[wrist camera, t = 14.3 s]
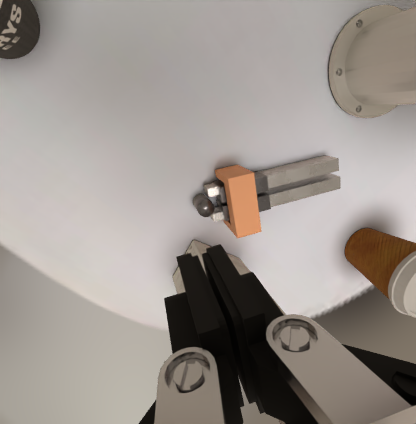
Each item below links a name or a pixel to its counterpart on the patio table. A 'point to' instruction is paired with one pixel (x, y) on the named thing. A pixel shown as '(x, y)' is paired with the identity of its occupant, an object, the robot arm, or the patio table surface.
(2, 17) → the coffee cup
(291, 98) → the patio table surface
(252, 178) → the collar
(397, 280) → the disposable coffee cup
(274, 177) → the tongs fixed
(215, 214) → the tongs arm
